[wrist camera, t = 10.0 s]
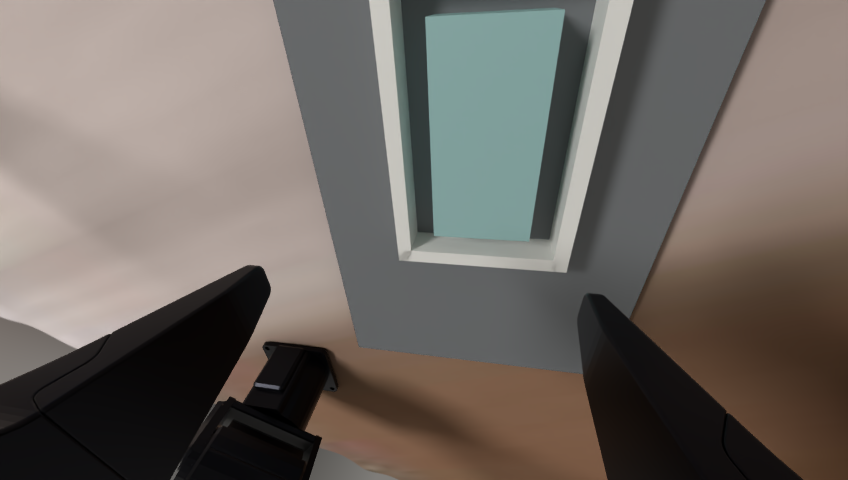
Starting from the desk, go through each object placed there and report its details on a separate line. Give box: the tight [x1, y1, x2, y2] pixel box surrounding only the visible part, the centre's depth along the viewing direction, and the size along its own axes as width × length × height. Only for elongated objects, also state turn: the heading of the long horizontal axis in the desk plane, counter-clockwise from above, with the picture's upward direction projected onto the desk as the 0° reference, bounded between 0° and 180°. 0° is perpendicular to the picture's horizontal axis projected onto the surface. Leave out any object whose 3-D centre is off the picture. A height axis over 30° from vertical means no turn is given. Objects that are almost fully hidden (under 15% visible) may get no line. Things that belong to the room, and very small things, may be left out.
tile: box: [425, 8, 565, 242], centre depth 16 cm, size 10×5×2 cm, turn 3°
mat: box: [273, 0, 766, 374], centre depth 20 cm, size 28×20×1 cm
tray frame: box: [369, 0, 634, 273], centre depth 17 cm, size 15×10×2 cm, turn 3°
